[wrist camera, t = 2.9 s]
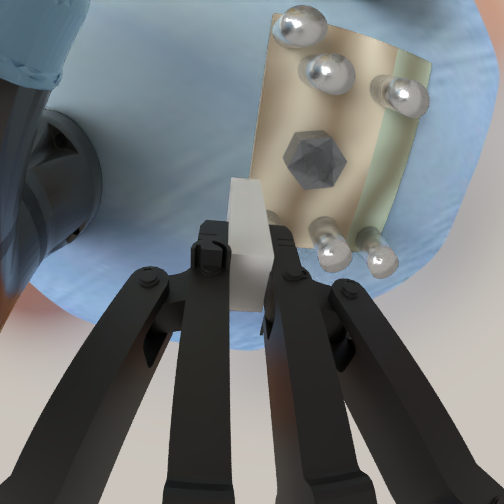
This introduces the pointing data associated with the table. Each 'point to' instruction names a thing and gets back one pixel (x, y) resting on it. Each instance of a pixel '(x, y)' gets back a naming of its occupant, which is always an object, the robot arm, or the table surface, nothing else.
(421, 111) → the spacers
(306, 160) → the gray polyhedron
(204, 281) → the robot arm
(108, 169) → the table surface
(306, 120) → the board
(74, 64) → the table surface
